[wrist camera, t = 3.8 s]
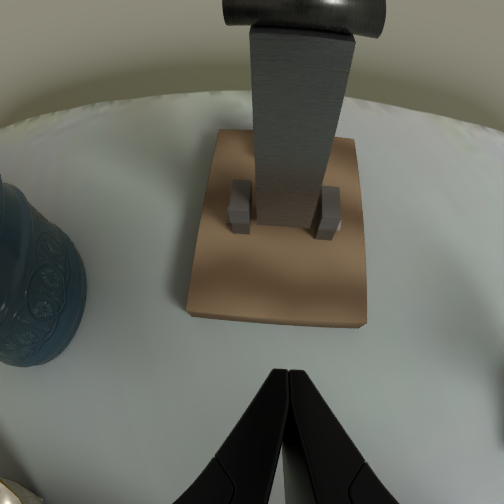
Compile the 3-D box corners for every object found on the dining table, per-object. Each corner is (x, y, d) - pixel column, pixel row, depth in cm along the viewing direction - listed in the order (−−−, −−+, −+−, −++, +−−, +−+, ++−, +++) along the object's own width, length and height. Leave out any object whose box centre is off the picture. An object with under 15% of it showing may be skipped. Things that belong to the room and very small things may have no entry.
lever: (321, 230, 21) (389, 0, 7) (245, 225, 22) (220, -16, 7) (321, 205, 22) (376, -17, 7) (248, 200, 22) (229, -30, 8)
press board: (358, 328, 22) (397, 304, 15) (191, 316, 22) (162, 287, 16) (349, 153, 28) (367, 95, 21) (221, 144, 28) (212, 84, 22)
